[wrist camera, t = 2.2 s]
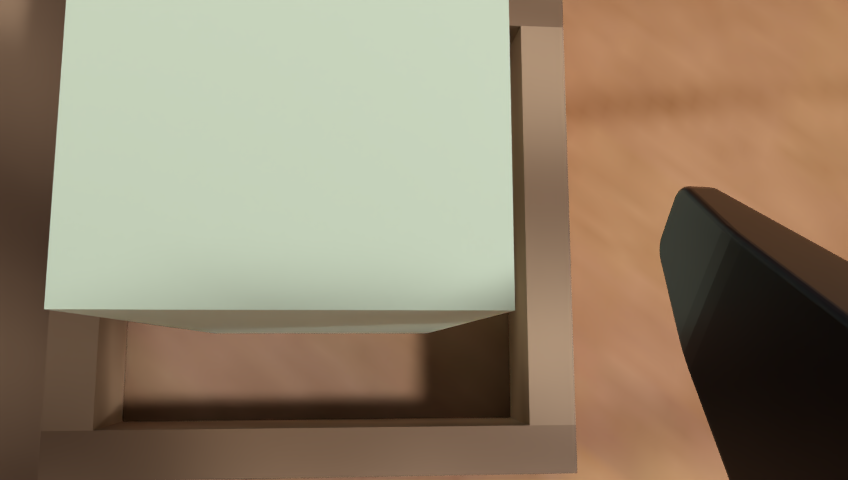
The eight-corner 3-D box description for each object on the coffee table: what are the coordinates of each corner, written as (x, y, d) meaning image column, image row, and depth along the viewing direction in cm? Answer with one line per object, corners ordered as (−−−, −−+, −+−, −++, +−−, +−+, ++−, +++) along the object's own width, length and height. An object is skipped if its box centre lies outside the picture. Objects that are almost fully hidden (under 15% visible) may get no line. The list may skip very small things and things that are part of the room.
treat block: (426, 333, 18) (514, 310, 8) (215, 333, 18) (43, 308, 8) (426, 132, 19) (507, -106, 9) (223, 127, 18) (75, -130, 9)
